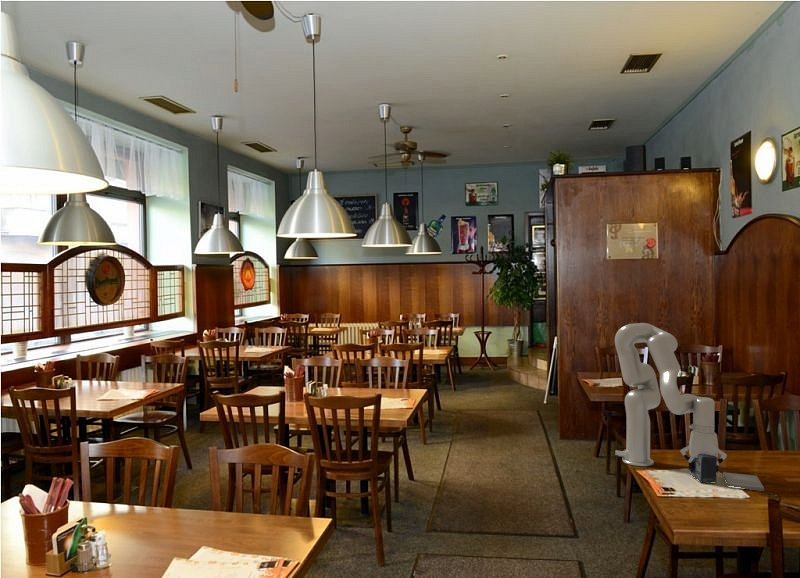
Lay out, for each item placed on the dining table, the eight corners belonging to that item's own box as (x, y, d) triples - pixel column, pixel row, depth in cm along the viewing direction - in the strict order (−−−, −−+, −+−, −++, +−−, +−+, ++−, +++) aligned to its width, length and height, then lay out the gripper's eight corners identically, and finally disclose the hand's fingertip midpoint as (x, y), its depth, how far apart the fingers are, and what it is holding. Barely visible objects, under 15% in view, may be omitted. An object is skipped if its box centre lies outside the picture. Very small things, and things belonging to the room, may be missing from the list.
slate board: (727, 487, 233) (728, 483, 233) (722, 475, 247) (722, 472, 247) (764, 491, 228) (764, 487, 228) (756, 479, 242) (756, 475, 242)
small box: (717, 483, 237) (718, 457, 237) (700, 483, 237) (701, 456, 237) (705, 475, 248) (705, 449, 247) (688, 474, 248) (689, 449, 248)
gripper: (680, 429, 242) (679, 473, 242) (729, 433, 235) (729, 478, 236) (678, 424, 249) (678, 467, 249) (727, 428, 242) (726, 472, 243)
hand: (703, 472), depth 242 cm, fingers closed on small box, 7 cm apart
